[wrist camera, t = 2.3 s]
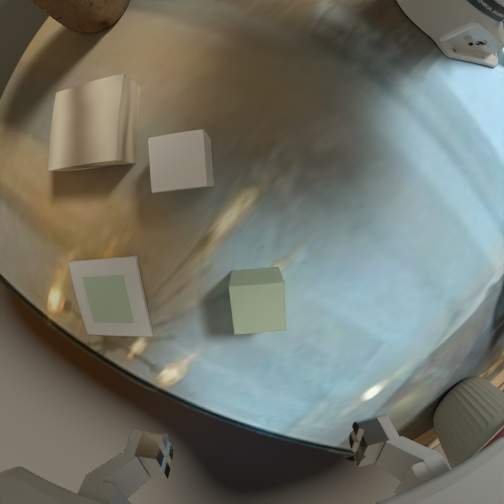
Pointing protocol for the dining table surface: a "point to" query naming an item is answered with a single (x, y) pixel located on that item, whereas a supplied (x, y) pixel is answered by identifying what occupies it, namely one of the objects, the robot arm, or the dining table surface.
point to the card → (111, 296)
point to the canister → (469, 419)
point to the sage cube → (257, 300)
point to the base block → (95, 125)
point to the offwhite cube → (180, 161)
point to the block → (84, 13)
